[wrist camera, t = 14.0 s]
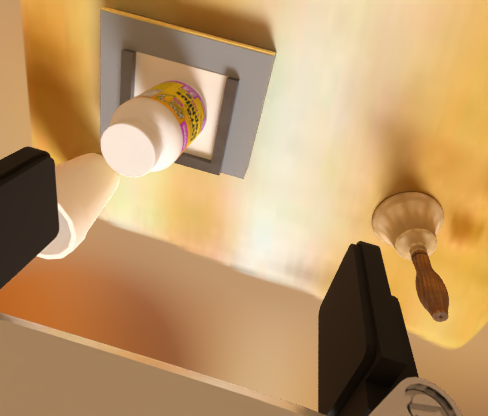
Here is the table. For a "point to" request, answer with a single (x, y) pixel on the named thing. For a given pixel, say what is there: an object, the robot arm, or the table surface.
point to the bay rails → (223, 125)
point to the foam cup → (80, 200)
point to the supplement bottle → (153, 128)
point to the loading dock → (188, 77)
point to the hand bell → (415, 242)
